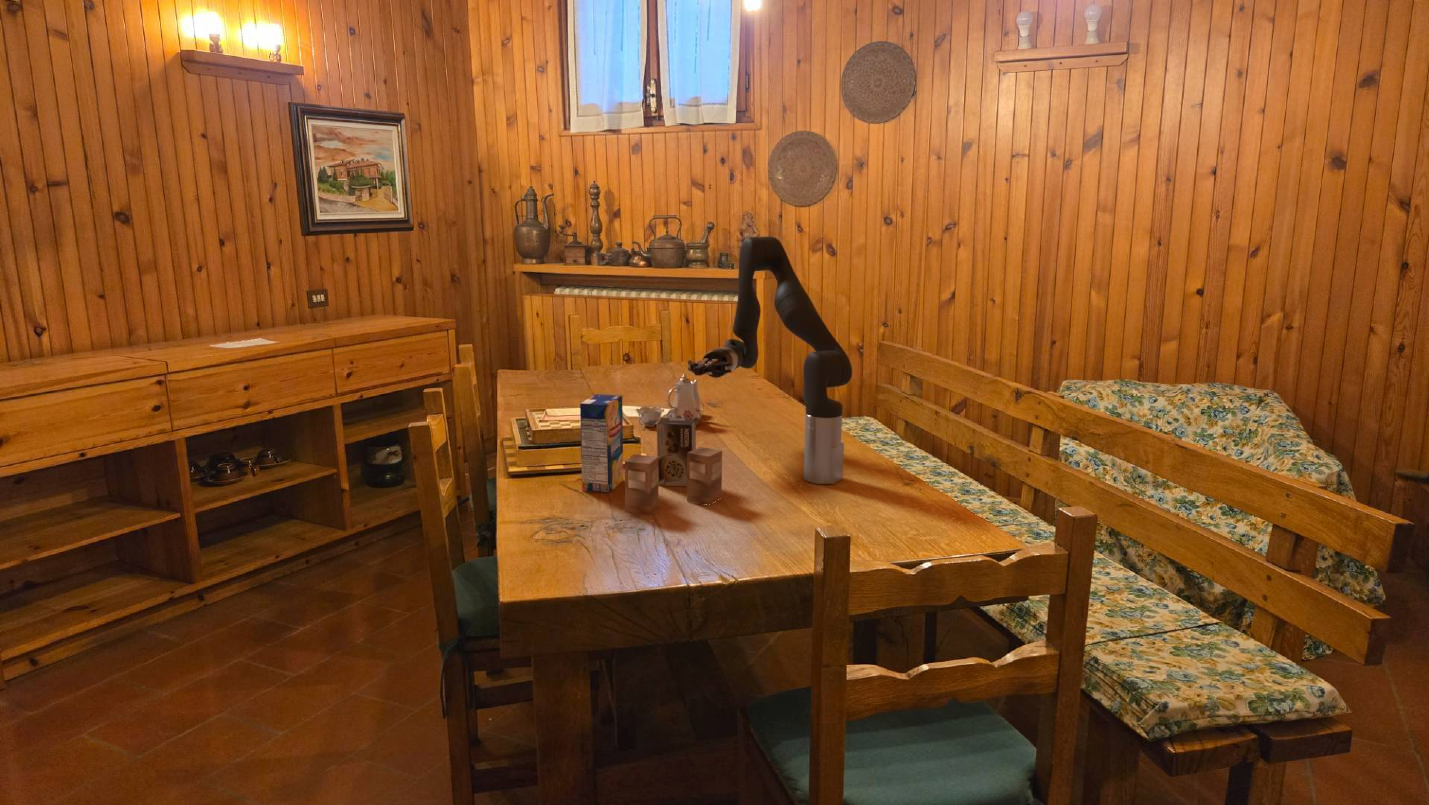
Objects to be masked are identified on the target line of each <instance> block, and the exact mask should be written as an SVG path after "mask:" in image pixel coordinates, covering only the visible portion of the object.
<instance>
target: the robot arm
mask: <svg viewBox="0 0 1429 805" xmlns="http://www.w3.org/2000/svg"><path fill="white" fill-rule="evenodd" d="M740 245H741V246H740V249H739V255H738V257H739V260H738V275H737V276H738V278H737V279H738V280H737V285H738V286H737V303H736V309H735V315H734V319H733V325H732V333H733V335H734V336H736V337H737V338H739V339H740V340H738V339H736V338H730V339H727V340H726V341H725V343H724V344H723V346H721V347H717V348H714V349H712V350H710V351H708V352H707V353H705V355H704V356H703V358H702V360H698V361H697V362H696V361H693V360H688V361H687V370H688V371H689V372H690V373H693V374H694V375H695V376H697V377H699V376H700V377H701V376H703V375H707V376H709V377H711V378H715V379H718V378H722V377H723V376H726V375H728V374H730V373H732V372H733V371H734V370H736V369H738V368H739V367H740V368H743V369H747V370H749V369H752V368H753V367H755V365H756V364H757V362H758V359H759V346H758V330H759V324H760V319H761V310H762V309H761V305H760V301H759V299H758V297H757V294H756V291H755V288H754V276H755V273H756V272H765V271H769V272H770V273H772V274H773V276H774V278H775V280H776V283H777V286H776V290H775V294H774V300H773V302H774V303H773V304H774V308H775V311H776V313H777V315H778V316H779V318H780V320H781V322H782V324H783V325H784V327H785V328H786V329H787V330H788V331H789V332H790V333H792V334H793V335H794V336H796V337H797V338H799V339H800V340H802V341H803V342H804V343H806V344H808V345H809V346H810V347H812V349H814V351H812V352H810V353H808V354H807V355H806V357H805V360H804V362H803V372H802V373H803V401H804V402H803V403H804V407H805V421H804V422H805V426H804V449H803V450H804V455H803V480H804V481H806V482H809V483H812V484H818V485H835V484H837V483H838V482H840V481H842V480H843V479H844V478H843V477H844V476H843V475H844V454H845V452H844V451H845V443H844V442H842V432H843V431H842V429H843V428H842V427H843V408H844V407H843V404H842V403H841V402H840V401H838V400H836V399H833V398H829V397H828V388H838V387H842V386H845V385H847V384H849V382H850V381H851V380H852V378H853V377H852V376H853V368H852V363H851V360H850V358H849V356H848V355H847V353H846V352H845V350H844V349H843V347H842V346H841V345H840V344H839V342H838V341H837V340H836V338H835V336H833V334H832V333H831V331H830V330H829V328H828V327H827V326H826V324H825V322H824V320H823V319H822V317H821V315H820V314H819V313H818V311H817V309H816V307H815V305H814V303H813V302H812V299H811V298H810V296H809V295H808V292H807V291H806V290H805V288H804V286H803V284H802V283H801V281H800V280H799V278H798V276H797V274H796V272H795V271H794V268H793V266H792V264H791V261H790V260H789V259H790V258H789V257H788V254H787V251H786V250H785V248H784V245H783V244H782V242H781V241H780V240H779V239H778V238H777V237H775V236H751V237H746V238H745V239H743V241H742V243H741V244H740Z"/></svg>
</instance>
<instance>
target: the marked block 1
mask: <svg viewBox="0 0 1429 805" xmlns="http://www.w3.org/2000/svg"><path fill="white" fill-rule="evenodd" d="M658 483H659V466H658V457H657V456H655V455H643V454H632V455H631V456H629V458H627V459H626V460H625V461H624V512H625V513H634V514H642V515H651V514H652V513H654V511H655V510H656V509H657V508H658V507H659V485H658Z"/></svg>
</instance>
